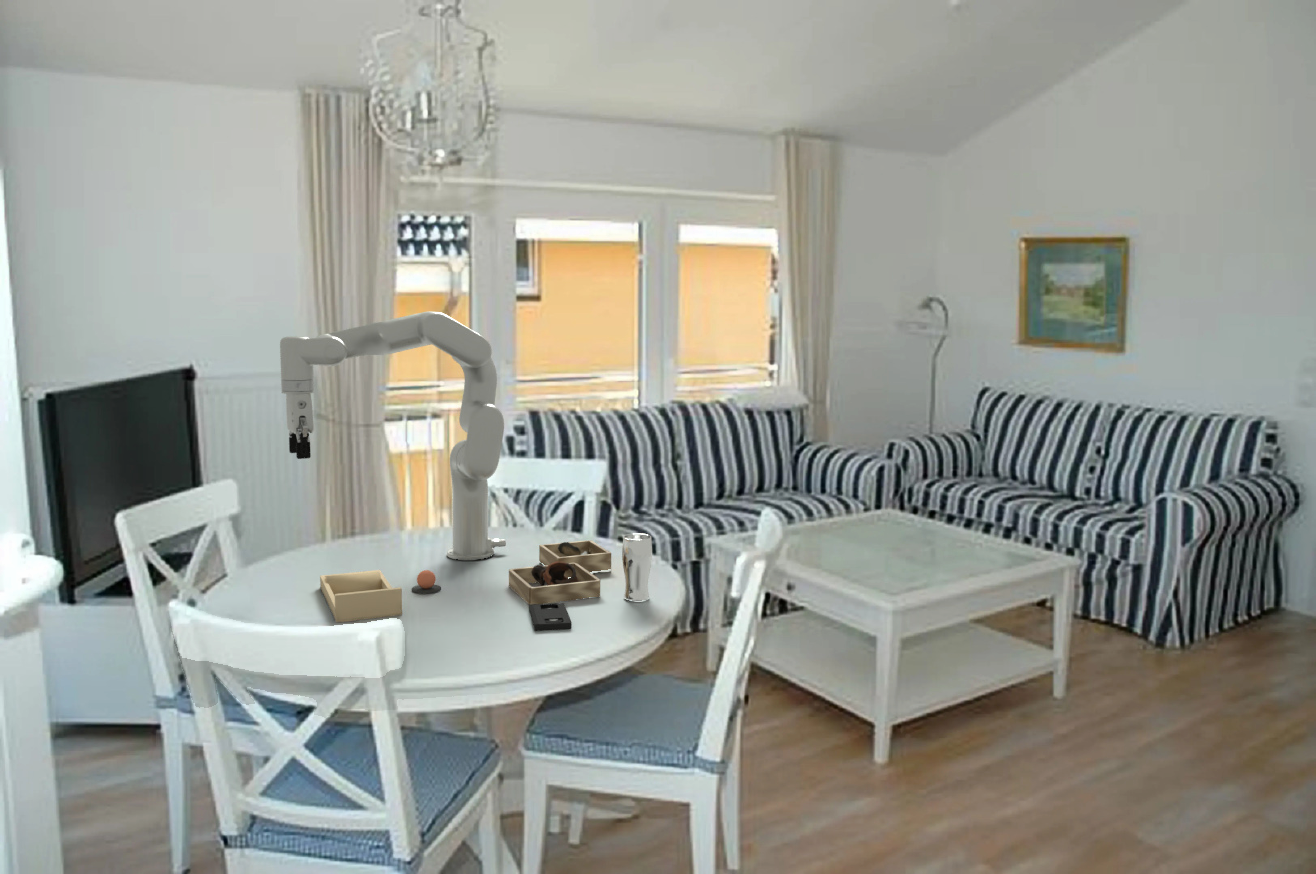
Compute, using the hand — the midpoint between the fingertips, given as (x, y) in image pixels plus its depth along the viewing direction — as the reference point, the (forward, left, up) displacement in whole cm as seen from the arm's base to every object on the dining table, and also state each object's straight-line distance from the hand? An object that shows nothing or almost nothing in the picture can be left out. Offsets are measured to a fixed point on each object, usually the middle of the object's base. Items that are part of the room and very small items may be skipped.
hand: (299, 455), depth 248 cm
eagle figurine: (-65, +20, -30) cm, 74 cm away
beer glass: (-69, +51, -30) cm, 91 cm away
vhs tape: (-45, +58, -31) cm, 80 cm away
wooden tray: (-65, +20, -30) cm, 75 cm away
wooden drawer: (-9, +29, -34) cm, 46 cm away
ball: (-25, +26, -27) cm, 46 cm away
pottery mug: (-53, +38, -30) cm, 72 cm away
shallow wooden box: (-53, +38, -30) cm, 72 cm away
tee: (-25, +26, -30) cm, 47 cm away
